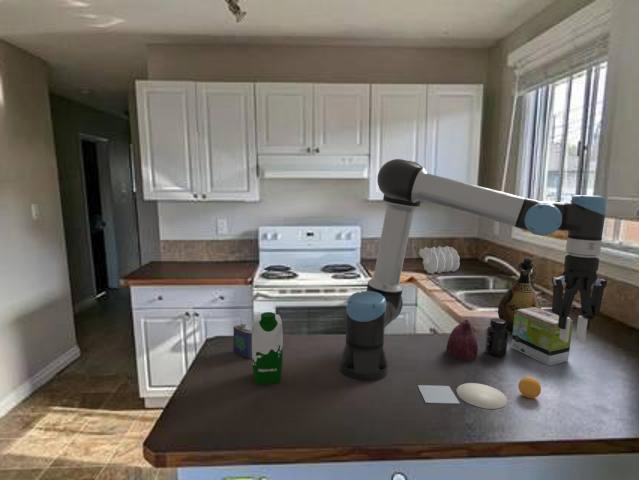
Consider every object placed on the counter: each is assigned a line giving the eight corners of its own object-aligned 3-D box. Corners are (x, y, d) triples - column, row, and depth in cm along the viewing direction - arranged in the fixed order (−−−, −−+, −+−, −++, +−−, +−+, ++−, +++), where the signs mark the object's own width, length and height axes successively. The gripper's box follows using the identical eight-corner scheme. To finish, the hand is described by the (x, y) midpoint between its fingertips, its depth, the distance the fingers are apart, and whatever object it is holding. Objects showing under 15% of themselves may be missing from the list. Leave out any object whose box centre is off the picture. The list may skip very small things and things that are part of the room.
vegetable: (477, 370, 131) (490, 333, 125) (445, 363, 133) (456, 326, 127) (473, 350, 140) (485, 315, 134) (443, 344, 142) (453, 308, 136)
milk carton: (252, 386, 111) (252, 318, 108) (251, 371, 119) (251, 307, 116) (283, 384, 112) (284, 316, 110) (280, 369, 121) (280, 306, 118)
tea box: (509, 348, 141) (513, 308, 139) (529, 344, 145) (533, 305, 143) (548, 366, 128) (553, 322, 126) (569, 361, 132) (574, 319, 130)
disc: (466, 408, 102) (466, 407, 102) (450, 383, 115) (450, 382, 115) (516, 409, 102) (516, 408, 102) (494, 384, 115) (494, 383, 115)
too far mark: (425, 403, 104) (425, 402, 104) (417, 385, 113) (417, 385, 113) (459, 403, 104) (459, 403, 104) (448, 386, 113) (448, 385, 113)
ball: (523, 402, 106) (525, 382, 105) (513, 391, 112) (515, 373, 111) (544, 402, 106) (546, 383, 105) (533, 391, 112) (535, 373, 111)
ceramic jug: (537, 341, 148) (546, 263, 144) (493, 332, 156) (500, 258, 152) (540, 328, 162) (548, 256, 158) (499, 320, 170) (506, 252, 166)
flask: (255, 357, 129) (255, 326, 127) (248, 360, 127) (248, 328, 125) (237, 349, 135) (237, 319, 133) (230, 352, 132) (230, 321, 131)
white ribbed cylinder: (456, 278, 265) (428, 279, 254) (441, 262, 278) (413, 263, 267) (469, 256, 256) (440, 256, 245) (452, 240, 269) (423, 240, 258)
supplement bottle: (480, 349, 140) (483, 317, 138) (499, 349, 140) (502, 316, 139) (490, 358, 133) (494, 324, 131) (510, 357, 134) (513, 323, 132)
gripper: (558, 256, 99) (548, 345, 103) (625, 258, 99) (613, 346, 103) (542, 251, 107) (533, 334, 110) (604, 253, 107) (593, 335, 110)
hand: (571, 340), depth 106 cm, fingers open, 4 cm apart
